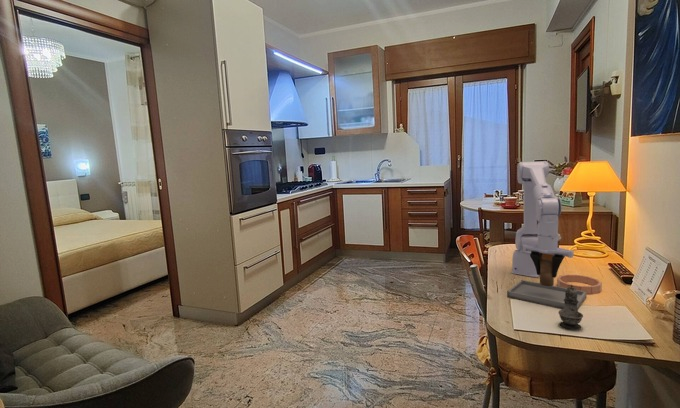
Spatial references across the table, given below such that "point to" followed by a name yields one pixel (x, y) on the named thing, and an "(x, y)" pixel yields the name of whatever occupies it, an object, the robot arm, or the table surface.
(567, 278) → the pinkish brown ring
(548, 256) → the disposable coffee cup
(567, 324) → the dark grey figurine
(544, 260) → the dowel
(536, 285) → the tray
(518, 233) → the robot arm
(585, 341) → the table surface
